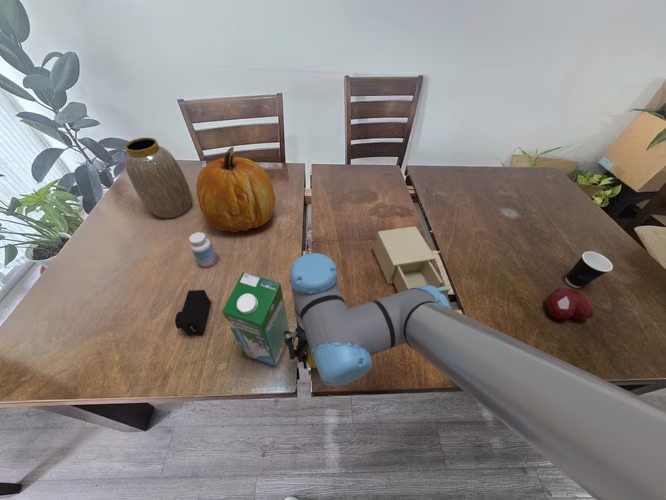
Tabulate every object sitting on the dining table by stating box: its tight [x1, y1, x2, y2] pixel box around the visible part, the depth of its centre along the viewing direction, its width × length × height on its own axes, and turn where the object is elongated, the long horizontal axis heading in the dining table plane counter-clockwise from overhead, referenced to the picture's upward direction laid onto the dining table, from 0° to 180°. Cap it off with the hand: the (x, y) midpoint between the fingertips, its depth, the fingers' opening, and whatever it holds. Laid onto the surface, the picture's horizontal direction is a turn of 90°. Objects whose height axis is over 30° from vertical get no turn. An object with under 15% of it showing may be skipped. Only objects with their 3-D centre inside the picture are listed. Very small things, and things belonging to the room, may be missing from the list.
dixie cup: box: [564, 251, 614, 289], centre depth 88 cm, size 8×8×11 cm
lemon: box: [305, 347, 317, 369], centre depth 68 cm, size 6×6×8 cm
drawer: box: [392, 261, 451, 298], centre depth 82 cm, size 20×13×8 cm, turn 13°
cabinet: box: [373, 225, 436, 285], centre depth 91 cm, size 15×14×10 cm
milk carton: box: [221, 271, 290, 367], centre depth 65 cm, size 9×9×25 cm
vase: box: [124, 137, 193, 219], centre depth 101 cm, size 17×17×27 cm
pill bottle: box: [188, 231, 218, 268], centre depth 89 cm, size 6×6×11 cm
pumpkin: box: [196, 146, 276, 233], centre depth 97 cm, size 26×23×30 cm
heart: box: [545, 287, 596, 320], centre depth 82 cm, size 12×8×10 cm
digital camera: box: [174, 289, 212, 337], centre depth 76 cm, size 10×5×7 cm, turn 5°
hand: (316, 360), depth 71 cm, fingers closed on lemon, 5 cm apart
